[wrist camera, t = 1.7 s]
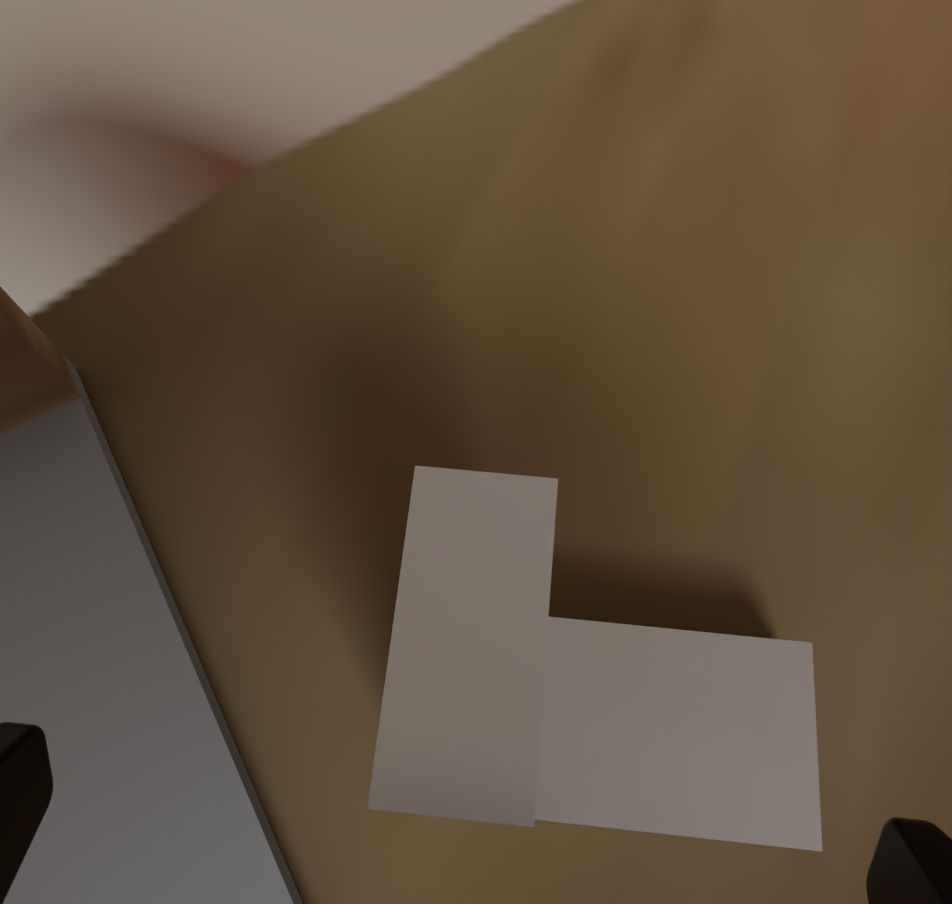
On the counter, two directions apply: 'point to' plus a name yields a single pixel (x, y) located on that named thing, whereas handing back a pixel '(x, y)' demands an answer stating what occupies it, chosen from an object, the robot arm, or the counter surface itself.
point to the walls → (29, 369)
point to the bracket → (576, 692)
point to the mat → (115, 693)
